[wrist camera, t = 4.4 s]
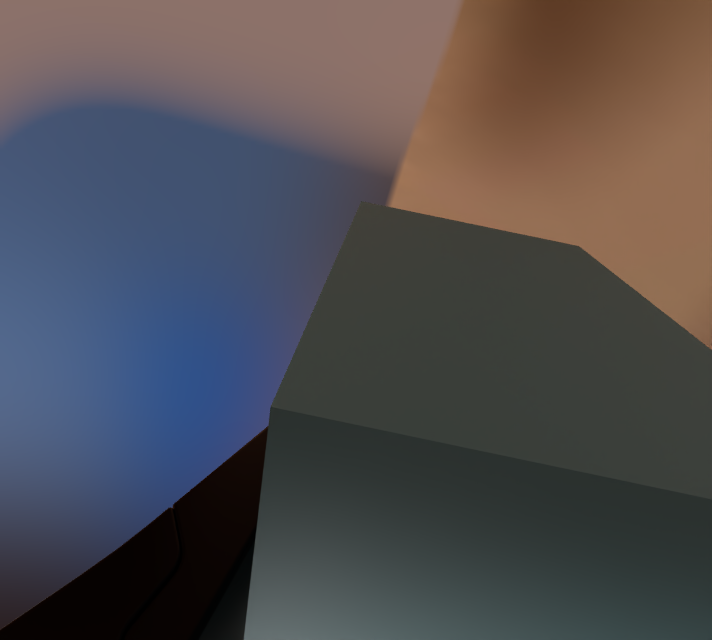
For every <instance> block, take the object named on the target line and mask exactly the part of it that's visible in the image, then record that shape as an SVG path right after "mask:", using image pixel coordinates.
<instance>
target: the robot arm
mask: <svg viewBox="0 0 712 640" xmlns="http://www.w3.org/2000/svg"><path fill="white" fill-rule="evenodd" d="M267 434H268V426H267V427H266V428H265V429H264V430H263V431H261V432H260V433H259V434H258V435H257V436H255V437H254V438H253V439H252V440H251V441H249V442H248V443H247V444H246V445H245V446H243V447H242V448H241V449H240V450H239V451H237V452H236V453H235V454H234V455H232V456H231V457H230V458H229V459H228V460H226V461H225V462H224V463H223V464H222V465H220V466H219V467H218V468H217V469H216V470H214V471H213V472H212V473H211V474H209V475H208V476H207V477H206V478H205V479H203V480H202V481H201V482H200V483H199V484H197V485H196V486H195V487H194V488H192V489H191V490H190V491H189V492H188V493H186V494H185V495H184V496H183V497H182V498H180V499H179V500H178V501H177V502H175V503H174V504H173V508H168V509H167V510H165V511H164V512H163V513H162V514H161V515H160V516H158V517H157V518H156V519H155V520H153V521H152V522H151V523H150V524H149V525H147V526H146V527H145V528H143V529H142V530H141V531H140V532H138V533H137V534H136V535H135V536H133V537H132V538H131V539H129V540H128V541H127V542H126V543H124V544H123V545H122V546H121V547H119V548H118V549H116V550H115V551H114V552H112V553H111V554H109V555H108V556H107V557H105V558H104V559H102V560H101V561H99V562H98V563H97V564H95V565H94V566H92V567H91V568H90V569H88V570H87V571H86V572H84V573H82V574H81V575H80V576H78V577H77V578H75V579H74V580H72V581H71V582H69V583H68V584H66V585H65V586H64V587H62V588H61V589H59V590H58V591H56V592H55V593H53V594H52V595H50V596H49V597H48V598H46V599H44V600H43V601H41V602H40V603H39V604H37V605H36V606H34V607H33V608H31V609H30V610H28V611H27V612H25V613H24V614H22V615H21V616H19V617H18V618H17V619H15V620H14V621H12V622H11V623H9V624H8V625H6V626H5V627H3V628H2V629H0V640H244V633H245V624H246V616H247V607H248V598H249V590H250V581H251V573H252V564H253V555H254V547H255V538H256V529H257V521H258V512H259V503H260V495H261V486H262V478H263V469H264V460H265V452H266V443H267Z"/></svg>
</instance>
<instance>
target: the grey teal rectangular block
mask: <svg viewBox="0 0 712 640" xmlns="http://www.w3.org/2000/svg"><path fill="white" fill-rule="evenodd" d="M244 640H712V350H711V349H710V348H708V347H707V346H706V345H704V344H703V343H702V342H701V341H699V340H698V339H697V338H695V337H694V336H693V335H692V334H690V333H689V332H688V331H687V330H685V329H684V328H683V327H681V326H680V325H679V324H678V323H676V322H675V321H674V320H672V319H671V318H670V317H669V316H667V315H666V314H665V313H664V312H662V311H661V310H660V309H658V308H657V307H656V306H655V305H653V304H652V303H651V302H649V301H648V300H647V299H646V298H644V297H643V296H642V295H641V294H639V293H638V292H637V291H635V290H634V289H633V288H632V287H630V286H629V285H628V284H626V283H625V282H624V281H623V280H621V279H620V278H619V277H618V276H616V275H615V274H614V273H612V272H611V271H610V270H609V269H607V268H606V267H605V266H603V265H602V264H601V263H600V262H598V261H597V260H596V259H594V258H593V257H592V256H591V255H589V254H588V253H587V252H586V251H584V250H583V249H582V248H580V247H579V246H575V245H570V244H565V243H561V242H556V241H551V240H546V239H541V238H536V237H532V236H527V235H522V234H517V233H512V232H507V231H503V230H498V229H493V228H488V227H483V226H478V225H474V224H469V223H464V222H459V221H454V220H449V219H445V218H440V217H435V216H430V215H425V214H420V213H415V212H411V211H406V210H401V209H396V208H391V207H386V206H382V205H376V204H371V203H367V202H361V204H360V206H359V208H358V210H357V212H356V215H355V217H354V219H353V222H352V224H351V226H350V228H349V231H348V233H347V235H346V238H345V240H344V242H343V244H342V246H341V249H340V251H339V253H338V255H337V258H336V260H335V263H334V265H333V267H332V269H331V272H330V274H329V276H328V278H327V280H326V283H325V285H324V287H323V290H322V292H321V294H320V296H319V299H318V301H317V303H316V305H315V308H314V310H313V312H312V314H311V317H310V319H309V321H308V323H307V326H306V328H305V330H304V332H303V335H302V337H301V339H300V342H299V344H298V346H297V348H296V351H295V353H294V355H293V358H292V360H291V362H290V364H289V366H288V369H287V371H286V373H285V376H284V378H283V380H282V382H281V385H280V387H279V389H278V392H277V394H276V396H275V398H274V401H273V403H272V405H271V408H270V418H269V426H268V434H267V443H266V452H265V460H264V469H263V478H262V486H261V495H260V503H259V512H258V521H257V529H256V538H255V547H254V555H253V564H252V573H251V581H250V590H249V598H248V607H247V616H246V624H245V633H244Z"/></svg>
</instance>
